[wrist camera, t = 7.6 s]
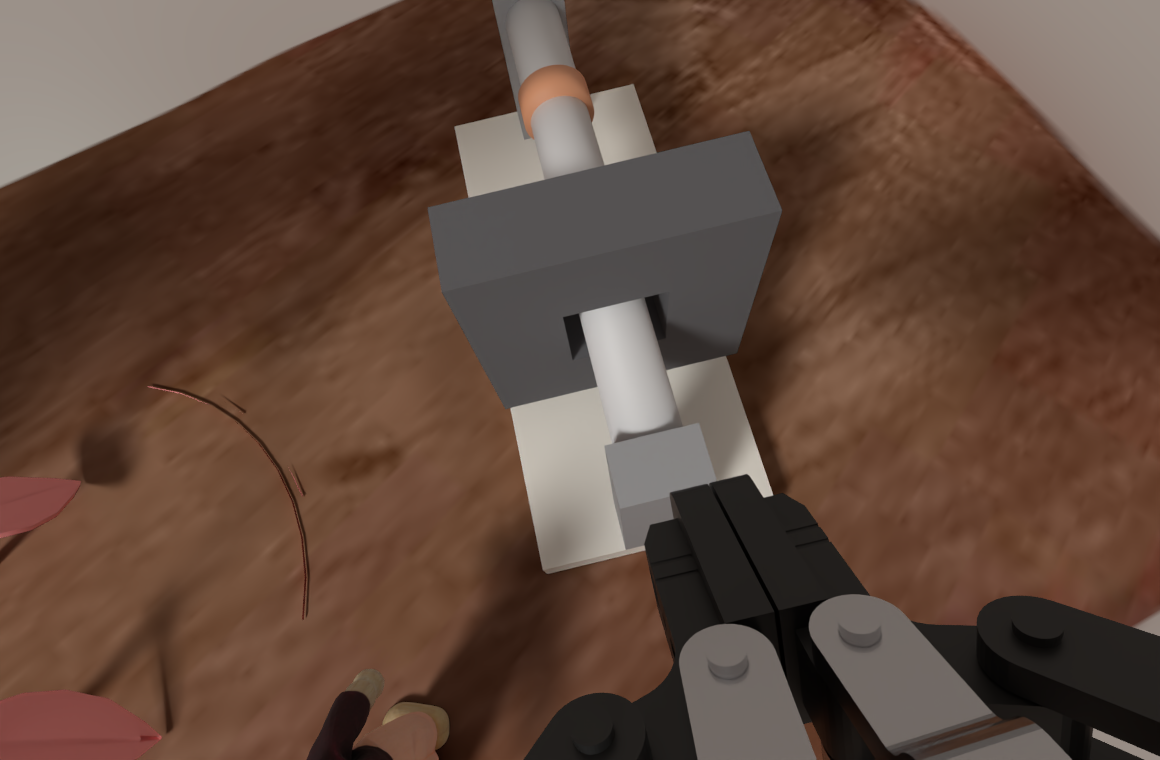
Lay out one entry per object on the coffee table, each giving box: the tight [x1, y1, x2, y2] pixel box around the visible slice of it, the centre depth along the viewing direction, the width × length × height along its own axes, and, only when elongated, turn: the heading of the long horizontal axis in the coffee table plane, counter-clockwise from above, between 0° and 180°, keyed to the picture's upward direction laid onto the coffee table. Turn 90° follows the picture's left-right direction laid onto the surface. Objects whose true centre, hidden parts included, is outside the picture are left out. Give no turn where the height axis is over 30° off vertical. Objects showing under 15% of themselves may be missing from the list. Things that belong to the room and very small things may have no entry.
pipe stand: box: [455, 0, 773, 574], centre depth 30 cm, size 10×24×10 cm, turn 13°
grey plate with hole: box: [428, 131, 782, 409], centre depth 25 cm, size 10×3×10 cm, turn 103°
